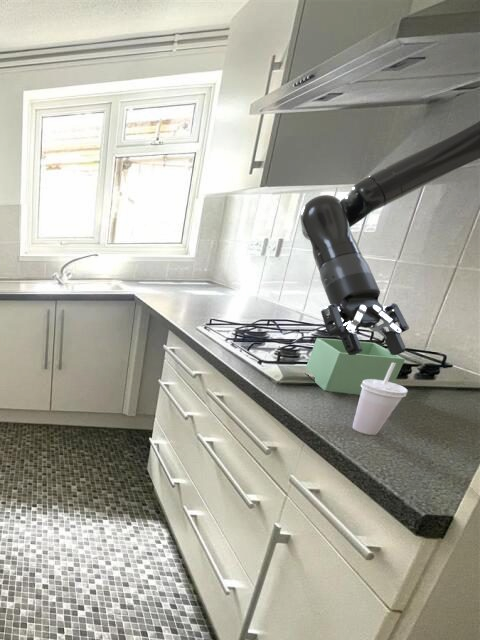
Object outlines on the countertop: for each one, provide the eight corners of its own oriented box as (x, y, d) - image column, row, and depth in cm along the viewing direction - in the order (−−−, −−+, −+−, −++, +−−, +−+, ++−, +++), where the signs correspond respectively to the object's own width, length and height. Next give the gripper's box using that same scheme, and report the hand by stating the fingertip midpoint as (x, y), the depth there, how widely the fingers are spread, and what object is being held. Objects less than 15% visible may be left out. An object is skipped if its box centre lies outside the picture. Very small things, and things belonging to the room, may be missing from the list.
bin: (359, 378, 106) (374, 342, 103) (387, 398, 96) (405, 359, 92) (303, 372, 110) (316, 337, 106) (324, 390, 99) (339, 353, 95)
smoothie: (381, 427, 83) (412, 362, 77) (390, 442, 78) (424, 373, 72) (340, 419, 86) (367, 355, 80) (347, 432, 81) (376, 366, 75)
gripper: (329, 270, 81) (359, 344, 76) (399, 270, 82) (434, 344, 76) (299, 292, 88) (325, 361, 83) (364, 292, 89) (393, 361, 83)
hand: (377, 353), depth 79 cm, fingers open, 8 cm apart
